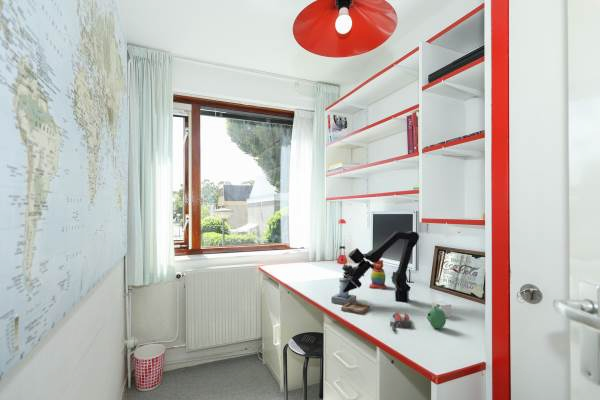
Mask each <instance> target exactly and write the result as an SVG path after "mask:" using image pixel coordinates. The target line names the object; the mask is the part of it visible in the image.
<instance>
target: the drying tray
mask: <svg viewBox="0 0 600 400" xmlns="http://www.w3.org/2000/svg"><path fill="white" fill-rule="evenodd" d="M370 309H371V305H370V304H367V303H365V304H364V303H360V302H349V303H347V304H346V305H342V306H341V308H340V311H342V312H348V313H352V314H357V315H363V314H365V313H366V312H368V311H369V310H370Z"/></svg>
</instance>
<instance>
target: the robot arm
mask: <svg viewBox="0 0 600 400" xmlns="http://www.w3.org/2000/svg"><path fill="white" fill-rule="evenodd" d="M419 239H420V235H419V233H418V232H417V231H412V230H408V231H406V232H403V231H394V232H393V233H392V234H391V235H390V236H389V237H388V238H386V239H385V240H384V241H383V242H382V243H381V244H380V245H378V246H377V247H376V248H373V249H371V250H370V251H368V252H367V253H362V252H361V250H360V249H359V248H357V247H356V248H355V249H353V250H352V251H350V252H349V254H348V255H347V256H348V258H349V259H350V260H351V261H352V262H353V263H354V264H357V265H356V266H352V265H351V264H349V265H348V264H346V263H344V264H343V266H342V268H341V269H342V270H343V271H344V272H343V274H342V275H343V276H342V278H348V279H349V283H348V285H347V286H346V287H345V289H344V290H343V292H344V293H345V292H347V291H349V292H350V291H352V290H355V289H360V288H361V287H362V282H361V281H360V279H361V278H362V277H365V274H367V272H368V271H369V269H371V270H374V264H373V263H377V262H378V261H379V260H382V257H383V255H384V254H385V252H387V250H389V249H390V248H391V247H392V246H393V245H394V244H395V243H397V241H399V240H403V244H404V245H403V249H402V253H401V256H400V260H399V264H398V267H397V269H396V271H392V276H391V277H390V278H391V282H392V284H393V285H394V287H395V292H394V297H395V299H394V300H395V301H398V302H403V303H408V302H409V301H410V300H411V299H410V291H411V286H410V285H409V284H408V283H407V281H408V277H407V271H408V267H409V264H410V259H411V256H412V252H413V249H414V247H415V246H417V243H418V241H419ZM338 288H339V289H340V285H339V287H338Z"/></svg>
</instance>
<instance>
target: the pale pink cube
mask: <svg viewBox="0 0 600 400" xmlns="http://www.w3.org/2000/svg"><path fill="white" fill-rule="evenodd" d="M437 304H439V305H440V306H439V309H441V310H442V311H443V312H444V314H445V316H446V318H452V304H451V303H449V302H446V301H444V300H439V301H432V302H431V306H432V307H431V309H433V307H434V306H437ZM437 308H438V306H437Z"/></svg>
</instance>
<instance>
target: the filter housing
mask: <svg viewBox="0 0 600 400" xmlns="http://www.w3.org/2000/svg"><path fill="white" fill-rule="evenodd" d="M349 302H355V303H357V295H354V294H349V298H341V297H340V292H339V293H337V294H335V295H332V296H331V303H332V304H337V305H342V306H344V305H346V304H347V303H349Z"/></svg>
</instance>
